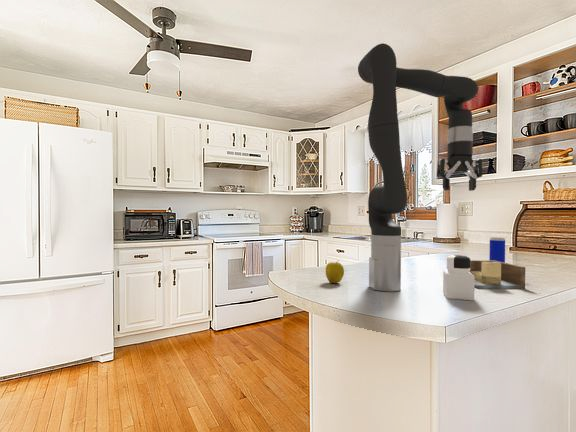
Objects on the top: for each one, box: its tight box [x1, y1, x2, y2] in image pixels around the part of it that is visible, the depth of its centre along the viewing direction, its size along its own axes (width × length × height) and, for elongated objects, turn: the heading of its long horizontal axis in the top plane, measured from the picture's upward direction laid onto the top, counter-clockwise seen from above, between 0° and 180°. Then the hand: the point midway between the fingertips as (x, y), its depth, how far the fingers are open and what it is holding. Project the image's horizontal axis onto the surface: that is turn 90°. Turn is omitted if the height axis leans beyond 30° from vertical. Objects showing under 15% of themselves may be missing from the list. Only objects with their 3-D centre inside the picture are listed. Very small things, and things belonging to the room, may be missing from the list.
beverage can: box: [488, 236, 506, 263], centre depth 126 cm, size 5×5×15 cm
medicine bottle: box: [442, 254, 475, 301], centre depth 93 cm, size 7×7×12 cm
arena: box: [470, 259, 526, 290], centre depth 112 cm, size 16×15×7 cm
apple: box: [325, 260, 345, 284], centre depth 110 cm, size 6×6×8 cm
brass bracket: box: [469, 262, 501, 284], centre depth 111 cm, size 10×5×7 cm, turn 2°
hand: (459, 190), depth 107 cm, fingers open, 8 cm apart
